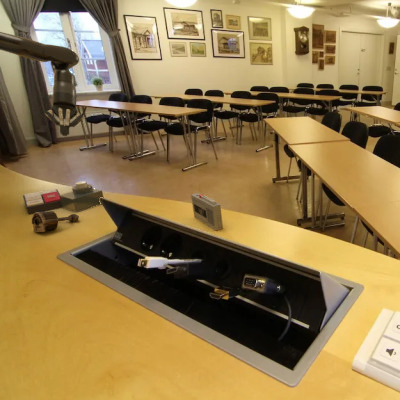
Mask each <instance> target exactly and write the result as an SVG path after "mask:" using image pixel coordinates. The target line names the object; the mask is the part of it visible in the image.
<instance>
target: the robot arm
mask: <svg viewBox="0 0 400 400" xmlns="http://www.w3.org/2000/svg"><path fill="white" fill-rule="evenodd" d="M0 51H3V52H7V53H10V54H13V55H16V56H19V57H22V58H26V59H30V60H33V61H38V62H40V63H49V62H50V67H51V71H52V73H53V87H52V106H51V107H50V109H49V110H44V114H45V116H46V117H47V118H48V119H49V120H50V121H51V122H52V123H53V124H54V125H55V126H57V127H59V133H60V135H62V137H68V136H69V135H70V128H75V127H76V126H77V125H78V124H79V123H81V122H82V121H83V120H84V119H85V117H84V115H83V114H81V113H80V112H79V111H78V109H77V89H76V76H75V73H73V72H72V71H70V70H71V69H72V68H74V67H75V66H77V65H78V64H79V62H80V57H79V55H78V54H77V52H75V51H74V50H73V49H71V48H69V47H66V46H62V45H55V44H46V43H42V42H39V41H36V40H33V39H31V38H26V37H24V36H19V35H15V34H11V33H6V32H3V31H0ZM54 115H55V116H56V117H54ZM57 118H58V119H59V121H58V120H57ZM71 120H72V121H71Z"/></svg>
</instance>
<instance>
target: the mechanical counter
mask: <svg viewBox="0 0 400 400" xmlns="http://www.w3.org/2000/svg"><path fill="white" fill-rule="evenodd" d="M79 218H80V216H79V215H78V214H76V213H71V214H69V215H68V216H65V217H64V216H62V217H59V216H58V214H57V212H55V211H53V210H48V211H44V212H36V213H34V214H32V218H31V224H32V228H33V232H34V233H44V232H46V231H53V230H56V229H57V228H58V226H59V222H64V221H65V222H67V221H70V222H72V223H75V222H77V221H78V220H79Z"/></svg>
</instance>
